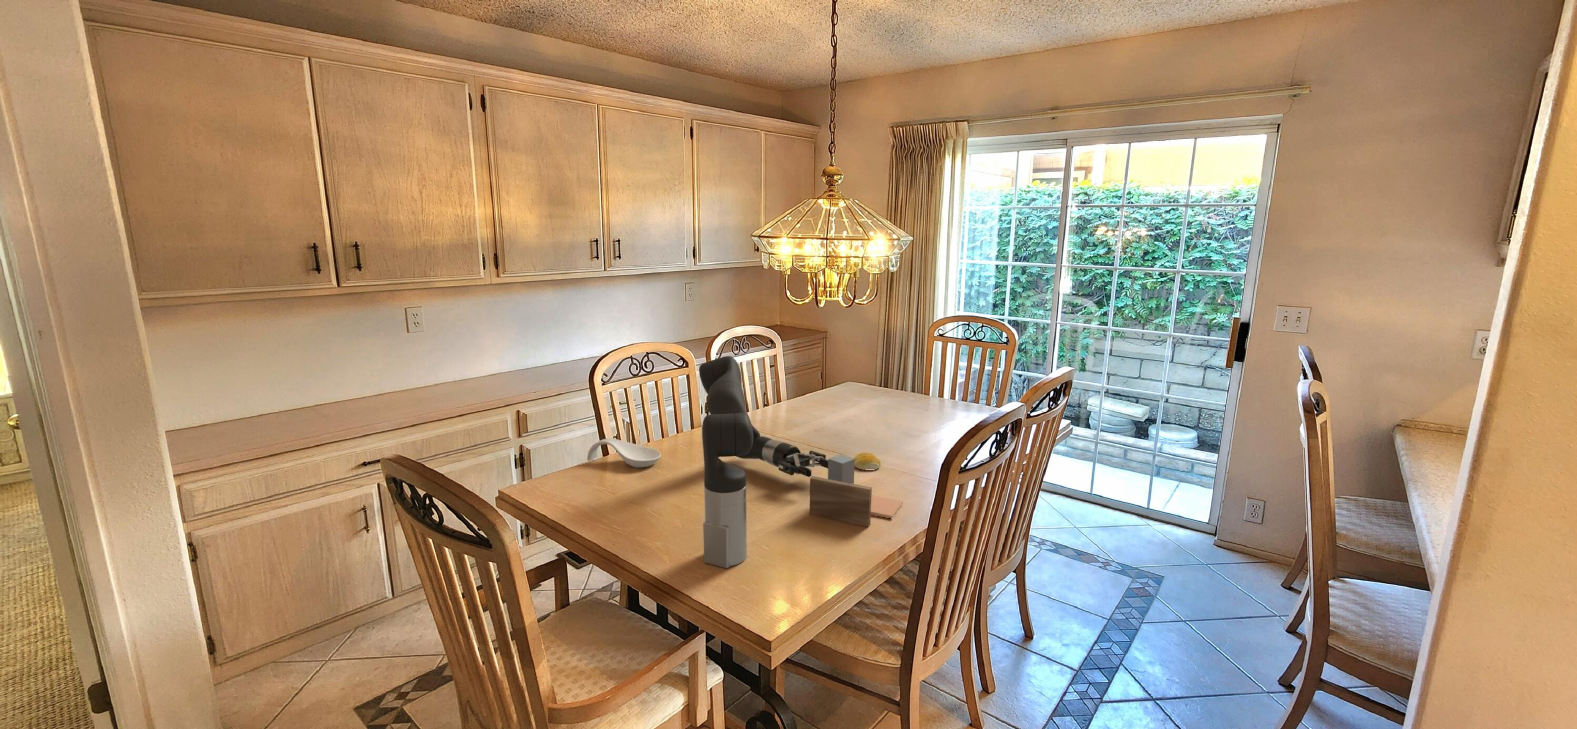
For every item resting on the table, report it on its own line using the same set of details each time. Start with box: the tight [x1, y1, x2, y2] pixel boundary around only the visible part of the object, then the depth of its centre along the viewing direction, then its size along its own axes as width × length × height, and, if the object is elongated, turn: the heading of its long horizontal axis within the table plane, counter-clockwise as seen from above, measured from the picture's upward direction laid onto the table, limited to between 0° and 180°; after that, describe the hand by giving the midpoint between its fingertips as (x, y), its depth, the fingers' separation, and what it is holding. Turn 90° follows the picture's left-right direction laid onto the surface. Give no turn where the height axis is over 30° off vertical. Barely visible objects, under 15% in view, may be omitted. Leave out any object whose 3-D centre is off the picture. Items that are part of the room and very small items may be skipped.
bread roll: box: [853, 452, 882, 469], centre depth 200 cm, size 8×9×4 cm
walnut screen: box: [808, 475, 873, 528], centre depth 163 cm, size 2×16×10 cm, turn 64°
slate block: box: [827, 454, 855, 484], centre depth 174 cm, size 5×5×12 cm
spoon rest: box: [586, 438, 662, 469], centre depth 200 cm, size 24×12×7 cm, turn 77°
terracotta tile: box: [871, 494, 904, 519], centre depth 170 cm, size 10×10×1 cm
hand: (821, 469), depth 178 cm, fingers open, 8 cm apart
